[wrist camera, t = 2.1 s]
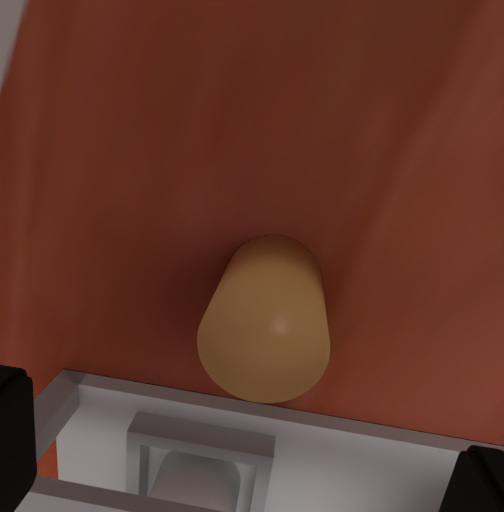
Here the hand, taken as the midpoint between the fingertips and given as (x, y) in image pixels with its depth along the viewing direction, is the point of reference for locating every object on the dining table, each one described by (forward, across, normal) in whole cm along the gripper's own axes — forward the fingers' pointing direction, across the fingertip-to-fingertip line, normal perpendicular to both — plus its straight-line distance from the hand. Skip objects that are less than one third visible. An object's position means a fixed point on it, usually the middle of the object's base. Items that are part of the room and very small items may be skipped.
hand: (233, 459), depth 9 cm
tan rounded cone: (+8, 0, -1) cm, 8 cm away
